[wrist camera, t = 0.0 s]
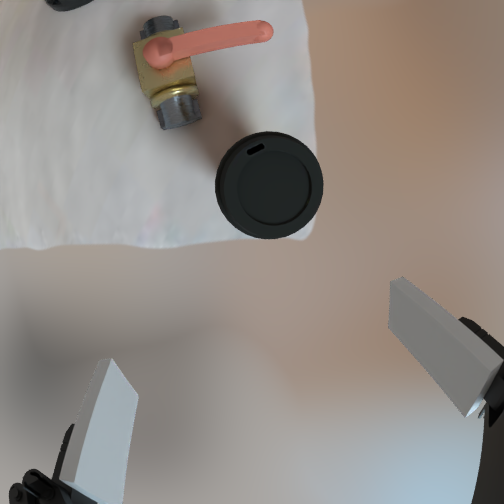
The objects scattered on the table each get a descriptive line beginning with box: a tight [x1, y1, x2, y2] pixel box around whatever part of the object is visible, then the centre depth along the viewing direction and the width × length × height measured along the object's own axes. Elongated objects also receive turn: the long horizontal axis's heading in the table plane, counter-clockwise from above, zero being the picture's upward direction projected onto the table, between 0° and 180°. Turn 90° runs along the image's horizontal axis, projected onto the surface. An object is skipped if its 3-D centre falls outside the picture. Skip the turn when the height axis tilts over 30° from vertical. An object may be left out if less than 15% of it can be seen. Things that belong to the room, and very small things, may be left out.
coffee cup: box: [215, 131, 323, 239], centre depth 29 cm, size 10×10×15 cm
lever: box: [143, 20, 273, 69], centre depth 22 cm, size 14×3×3 cm, turn 104°
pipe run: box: [132, 16, 202, 130], centre depth 26 cm, size 16×6×8 cm, turn 14°
